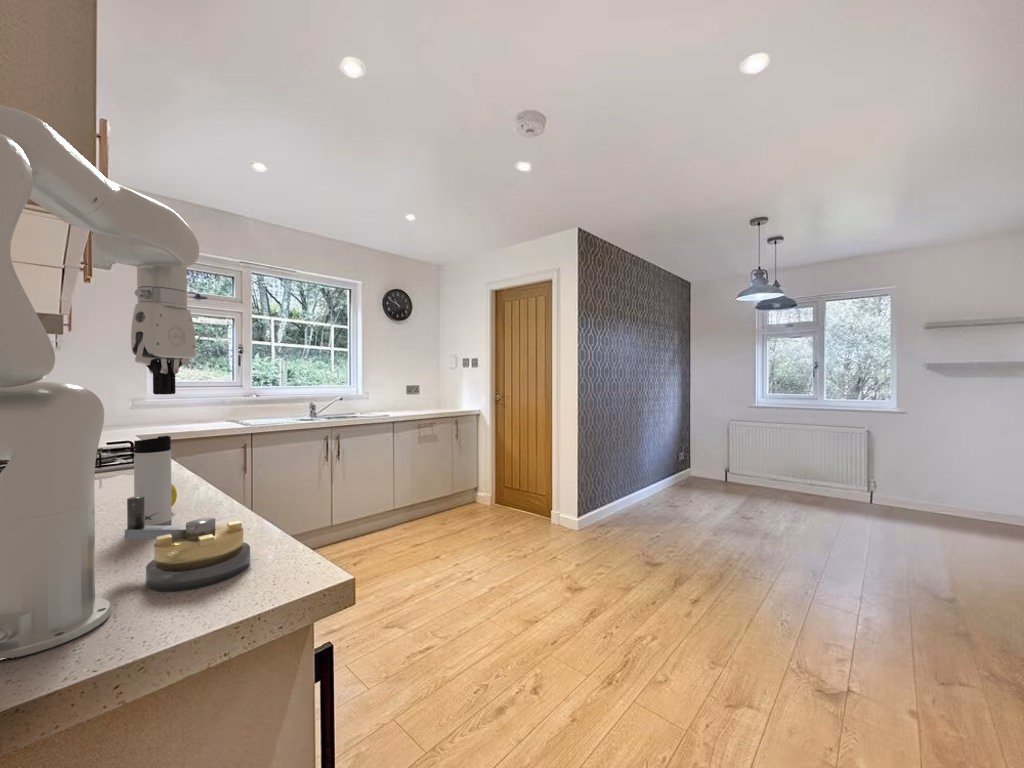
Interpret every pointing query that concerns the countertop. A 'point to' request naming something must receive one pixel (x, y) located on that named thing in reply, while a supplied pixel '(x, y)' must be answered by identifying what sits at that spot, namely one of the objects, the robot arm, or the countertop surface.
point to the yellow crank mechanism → (185, 539)
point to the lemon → (173, 494)
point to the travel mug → (154, 479)
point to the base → (196, 574)
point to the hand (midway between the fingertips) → (164, 394)
